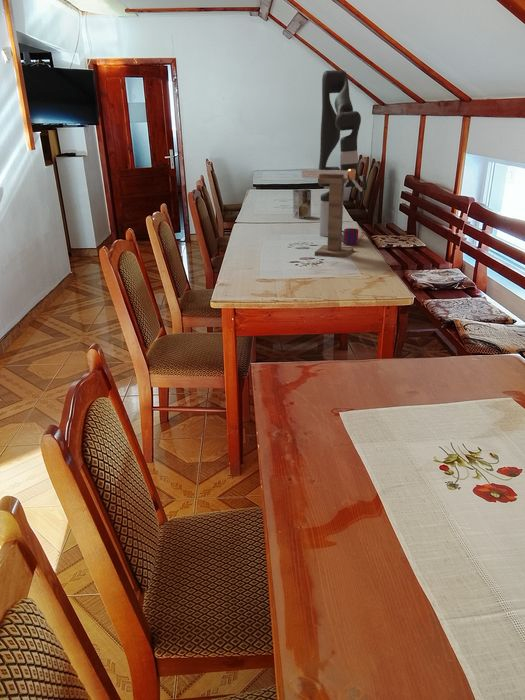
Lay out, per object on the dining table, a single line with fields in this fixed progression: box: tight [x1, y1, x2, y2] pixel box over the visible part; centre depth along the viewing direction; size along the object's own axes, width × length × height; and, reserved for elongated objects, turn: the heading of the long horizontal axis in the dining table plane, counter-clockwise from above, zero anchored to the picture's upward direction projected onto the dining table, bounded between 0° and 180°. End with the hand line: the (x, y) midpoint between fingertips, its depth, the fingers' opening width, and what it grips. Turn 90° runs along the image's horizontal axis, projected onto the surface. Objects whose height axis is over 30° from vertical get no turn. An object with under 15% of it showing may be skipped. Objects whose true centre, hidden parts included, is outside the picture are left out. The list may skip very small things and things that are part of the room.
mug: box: [342, 227, 359, 246], centre depth 254 cm, size 7×10×7 cm
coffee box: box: [292, 188, 312, 219], centre depth 324 cm, size 9×6×16 cm
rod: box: [301, 169, 356, 180], centre depth 227 cm, size 4×22×4 cm, turn 68°
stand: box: [314, 174, 354, 258], centre depth 232 cm, size 14×14×34 cm
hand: (350, 201), depth 236 cm, fingers open, 8 cm apart
